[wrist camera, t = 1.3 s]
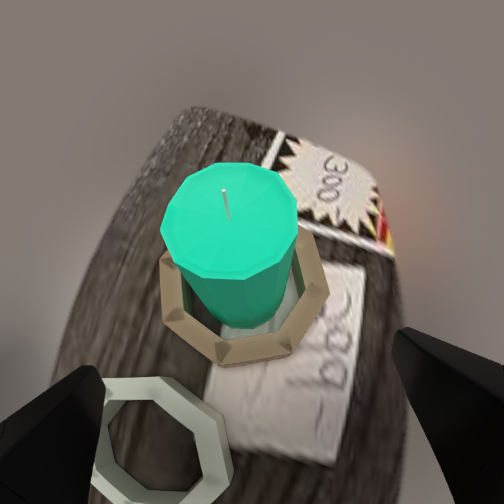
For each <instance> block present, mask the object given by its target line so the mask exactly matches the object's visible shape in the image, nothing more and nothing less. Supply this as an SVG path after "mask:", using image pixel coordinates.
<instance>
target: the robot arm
mask: <svg viewBox="0 0 504 504" xmlns="http://www.w3.org/2000/svg"><path fill="white" fill-rule="evenodd" d="M391 358H392V361H393V363H394V365H395V368H396V370H397V373H398V375H399V378H400V381H401V383H402V386H403V388H404V391H405V393H406V396H407V398H408V400H409V402H410V404H411V406H412V408H413V410H414V412H415V414H416V416H417V418H418V420H419V422H420V424H421V426H422V428H423V430H424V432H425V435H426V437H427V439H428V441H429V443H430V445H431V447H432V449H433V452H434V454H435V456H436V458H437V461H438V463H439V465H440V467H441V469H442V472H443V474H444V477H445V479H446V482H447V484H448V486H449V489H450V491H451V494H452V496H453V500H454V502H455V504H504V365H501V364H499V363H497V362H494V361H492V360H489V359H487V358H484V357H482V356H479V355H477V354H474V353H471V352H469V351H467V350H464V349H462V348H459V347H457V346H454V345H452V344H449V343H447V342H444V341H442V340H440V339H437V338H435V337H432V336H430V335H427V334H425V333H422V332H420V331H418V330H415V329H412V328H410V327H404V328H401V329H398V330H396V332H395V334H394V338H393V343H392V348H391ZM105 394H106V387H105V384H104V382H103V380H102V378H101V376H100V375H99V373H98V371H97V369H96V368H95V367H94V366H92V365H82V366H80V367H79V368H77V369H76V370H74V371H73V372H72V373H70V374H69V375H67V376H66V377H64V378H63V379H62V380H60V381H59V382H57V383H56V384H55V385H53V386H52V387H50V388H49V389H47V390H46V391H45V392H43V393H42V394H41V395H39V396H38V397H36V398H35V399H34V400H32V401H31V402H29V403H28V404H26V405H25V406H23V407H22V408H21V409H20V410H18V411H17V412H15V413H14V414H12V415H11V416H9V417H8V418H7V419H6V420H4V421H2V422H1V423H0V504H88V498H89V491H90V484H91V478H92V472H93V466H94V461H95V456H96V451H97V446H98V441H99V436H100V431H101V424H102V416H103V408H104V401H105Z"/></svg>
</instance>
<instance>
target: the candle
mask: <svg viewBox="0 0 504 504" xmlns="http://www.w3.org/2000/svg"><path fill="white" fill-rule="evenodd" d="M160 232H161V234H162V236H163V239H164V241H165V243H166V246H167V248H168V250H169V252H170V255H171V257H172V259H173V261H174V263H175V264H176V266H177V267H178V269H179V270H180V272H181V273H182V274H183V276H184V277H185V279H186V280H187V281H188V283H189V284H190V286H191V287H192V288H193V290H194V291H195V293H196V294H197V295H198V297H199V298H200V299H201V301H202V302H203V303H204V305H205V306H206V308H207V309H208V310H209V312H210V313H211V314H212V316H213V317H214V318H216V319H217V320H219V321H221V322H222V323H224V324H225V325H227V326H229V327H230V328H240V329H253V328H255V327H257V326H259V325H261V324H263V323H265V322H266V321H268V320H270V319H272V317H273V315H274V314H275V312H276V310H277V309H278V307H279V305H280V304H281V302H282V299H283V295H284V291H285V287H286V283H287V279H288V274H289V270H290V266H291V262H292V257H293V253H294V249H295V244H296V240H297V235H298V223H297V203H296V199H295V197H294V196H293V194H292V193H291V191H290V190H289V188H288V187H287V185H286V184H285V182H284V181H283V180H282V178H281V177H280V175H279V174H278V173H277V172H274V171H271V170H268V169H265V168H262V167H259V166H256V165H253V164H250V163H215V164H213V165H211V166H209V167H207V168H205V169H202V170H200V171H198V172H196V173H194V174H192V175H190V176H188V177H187V178H186V179H185V181H184V182H183V184H182V185H181V187H180V188H179V190H178V191H177V192H176V194H175V195H174V197H173V198H172V200H171V201H170V203H169V204H168V207H167V210H166V213H165V216H164V219H163V222H162V225H161V228H160Z"/></svg>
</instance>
